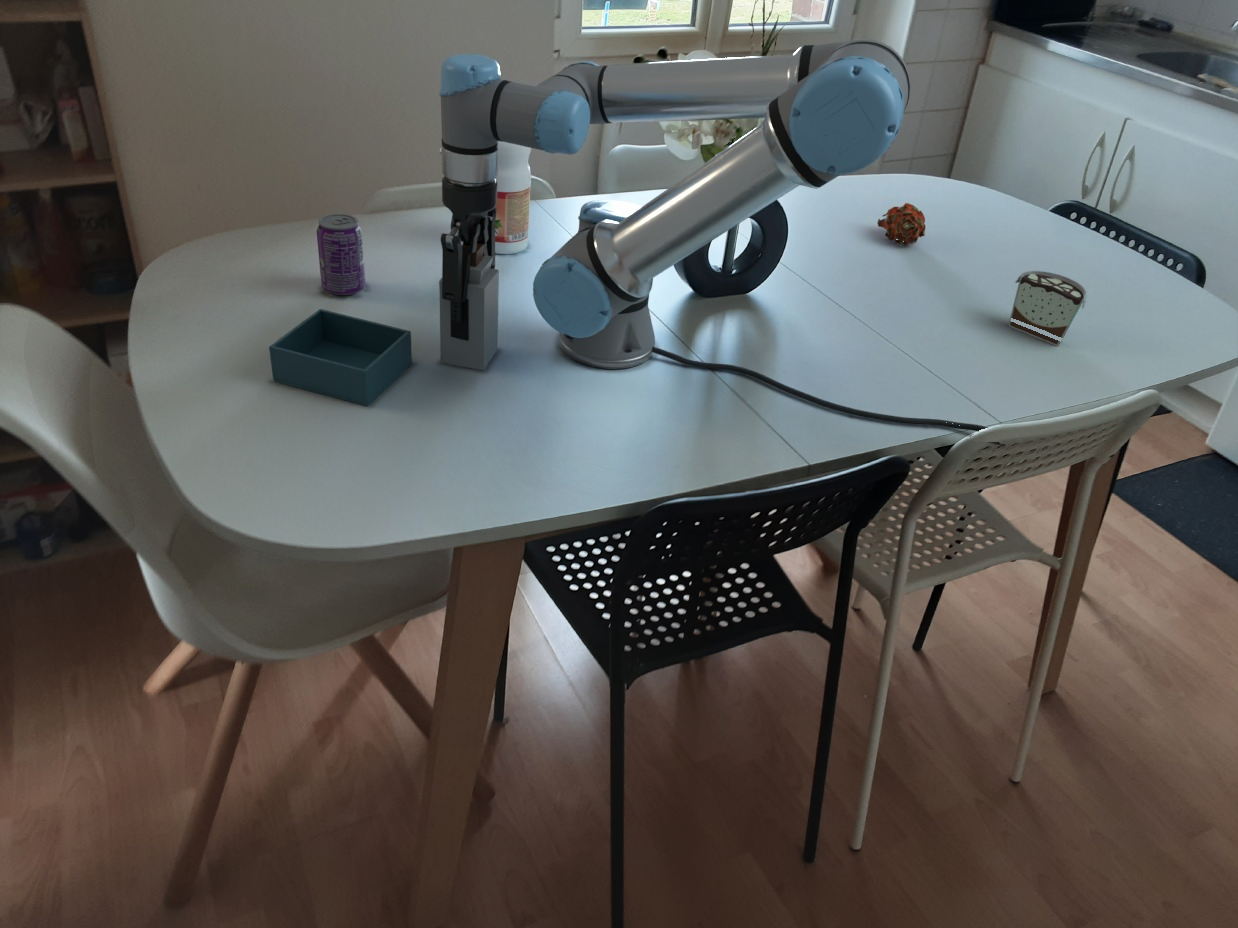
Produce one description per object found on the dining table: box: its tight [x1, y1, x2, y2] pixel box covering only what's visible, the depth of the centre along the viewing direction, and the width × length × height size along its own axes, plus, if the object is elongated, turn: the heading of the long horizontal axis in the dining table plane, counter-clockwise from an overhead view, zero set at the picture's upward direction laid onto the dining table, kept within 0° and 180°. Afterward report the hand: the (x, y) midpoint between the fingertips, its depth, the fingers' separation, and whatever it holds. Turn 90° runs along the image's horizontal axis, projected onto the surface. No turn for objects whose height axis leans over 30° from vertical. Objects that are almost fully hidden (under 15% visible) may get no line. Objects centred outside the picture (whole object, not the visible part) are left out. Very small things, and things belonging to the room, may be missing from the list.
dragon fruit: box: [877, 202, 926, 246], centre depth 202 cm, size 8×8×12 cm
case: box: [268, 308, 413, 407], centre depth 140 cm, size 15×13×6 cm
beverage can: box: [316, 213, 366, 296], centre depth 159 cm, size 7×7×12 cm
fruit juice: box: [495, 141, 532, 255], centre depth 175 cm, size 9×9×28 cm
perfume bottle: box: [438, 242, 500, 372], centre depth 143 cm, size 7×7×18 cm
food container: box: [1007, 270, 1088, 347], centre depth 172 cm, size 12×6×10 cm, turn 47°
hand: (469, 328), depth 146 cm, fingers closed on perfume bottle, 6 cm apart
